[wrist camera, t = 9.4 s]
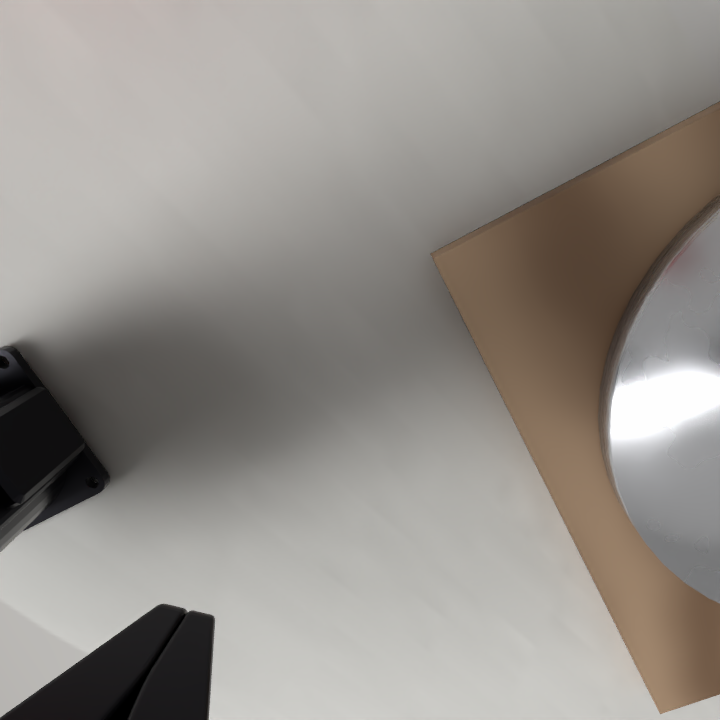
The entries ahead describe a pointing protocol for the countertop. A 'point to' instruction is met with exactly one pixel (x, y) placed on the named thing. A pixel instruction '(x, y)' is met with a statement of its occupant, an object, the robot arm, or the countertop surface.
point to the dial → (670, 405)
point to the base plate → (594, 369)
